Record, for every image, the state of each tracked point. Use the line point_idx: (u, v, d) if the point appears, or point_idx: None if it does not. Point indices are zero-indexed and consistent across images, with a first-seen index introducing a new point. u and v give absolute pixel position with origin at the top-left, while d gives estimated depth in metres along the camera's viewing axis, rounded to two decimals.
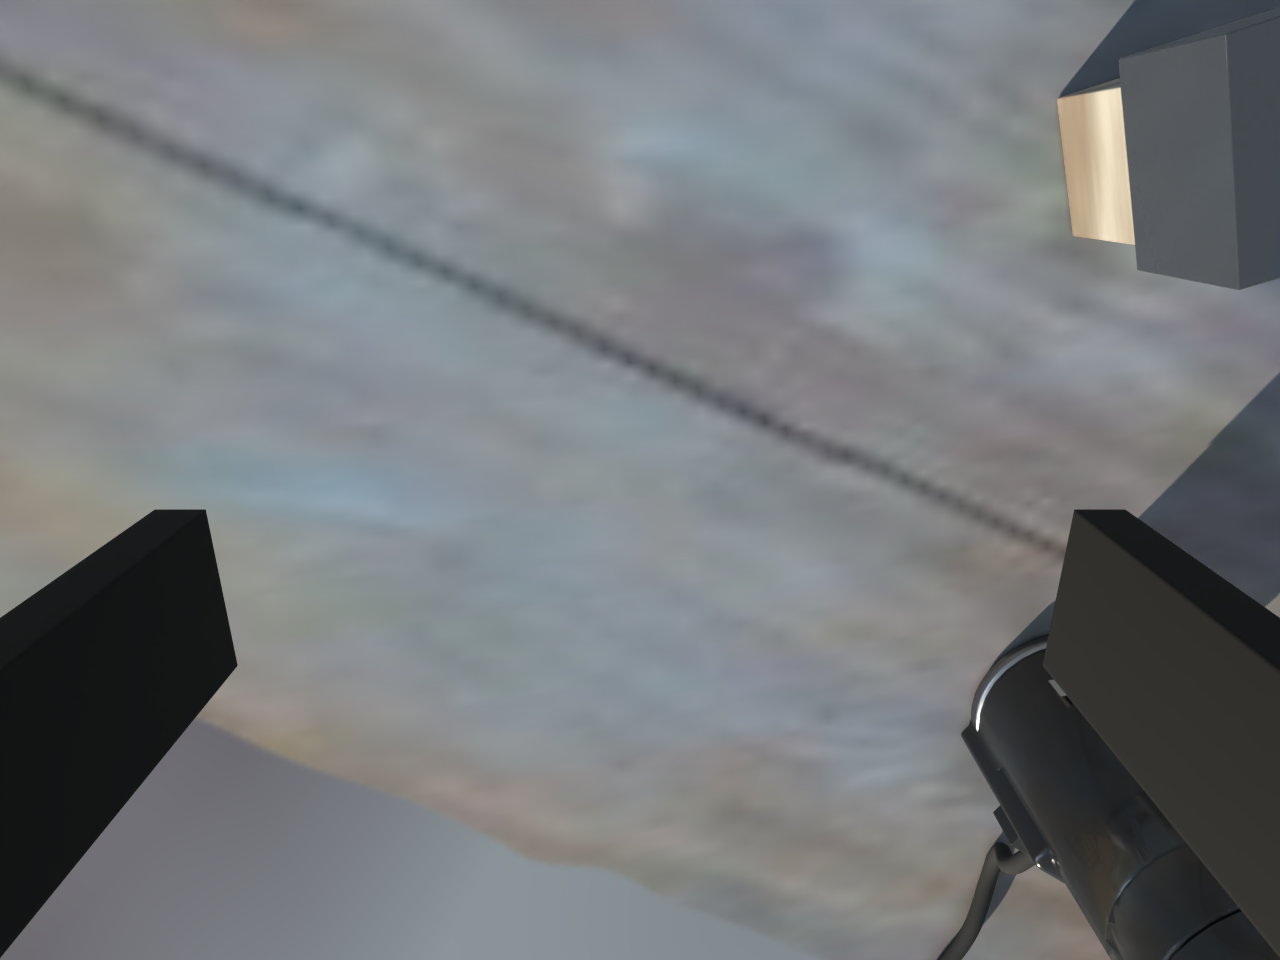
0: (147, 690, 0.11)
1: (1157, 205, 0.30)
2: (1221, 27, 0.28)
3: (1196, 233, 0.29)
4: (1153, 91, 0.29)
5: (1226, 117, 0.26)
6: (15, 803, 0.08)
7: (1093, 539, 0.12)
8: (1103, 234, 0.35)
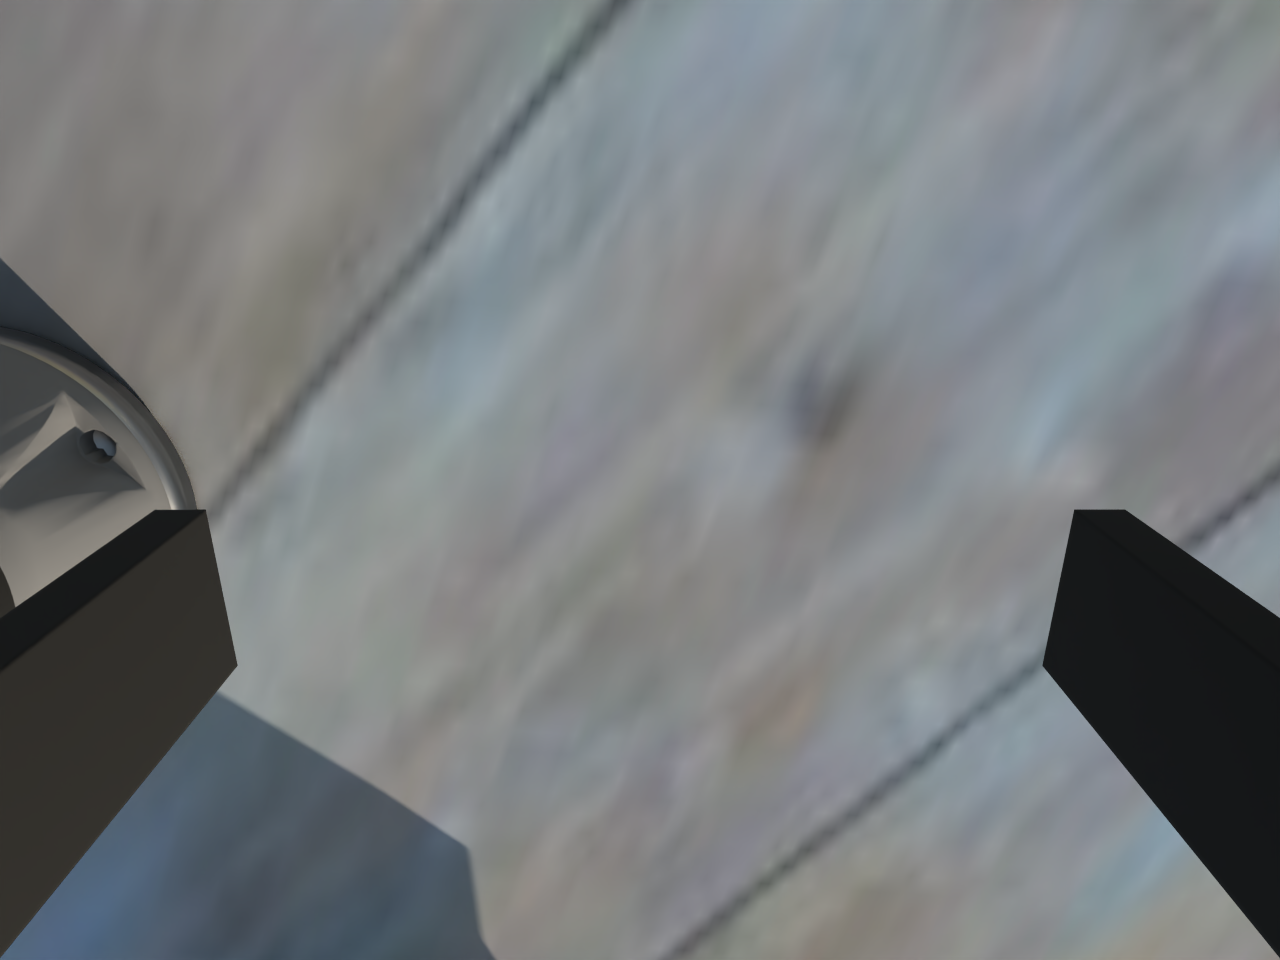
0: (147, 690, 0.11)
1: None
2: None
3: None
4: None
5: None
6: (15, 803, 0.08)
7: (1094, 539, 0.12)
8: None
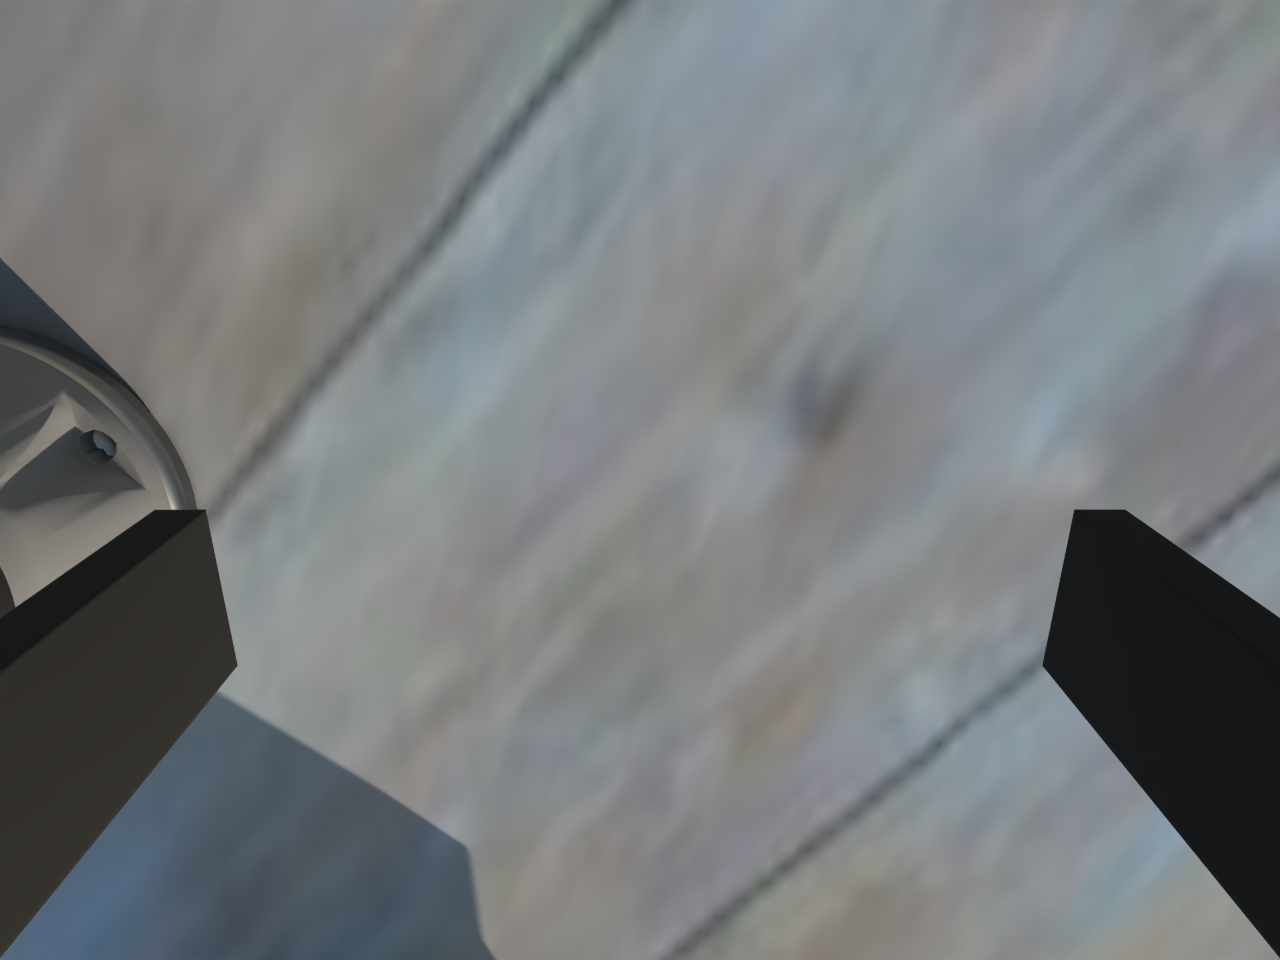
0: (147, 690, 0.11)
1: None
2: None
3: None
4: None
5: None
6: (15, 803, 0.08)
7: (1094, 539, 0.12)
8: None
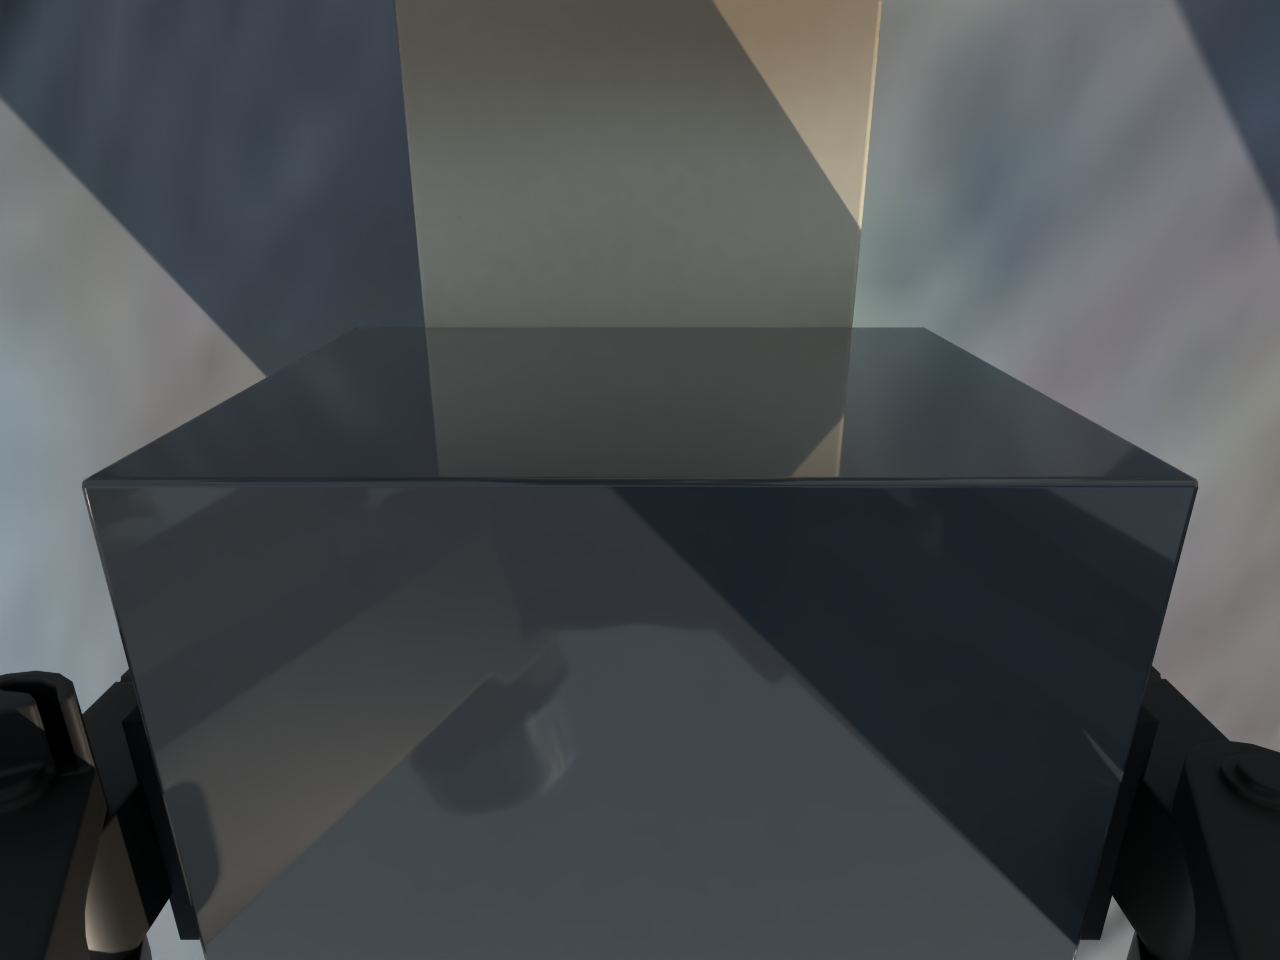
0: None
1: None
2: None
3: None
4: None
5: None
6: None
7: None
8: None
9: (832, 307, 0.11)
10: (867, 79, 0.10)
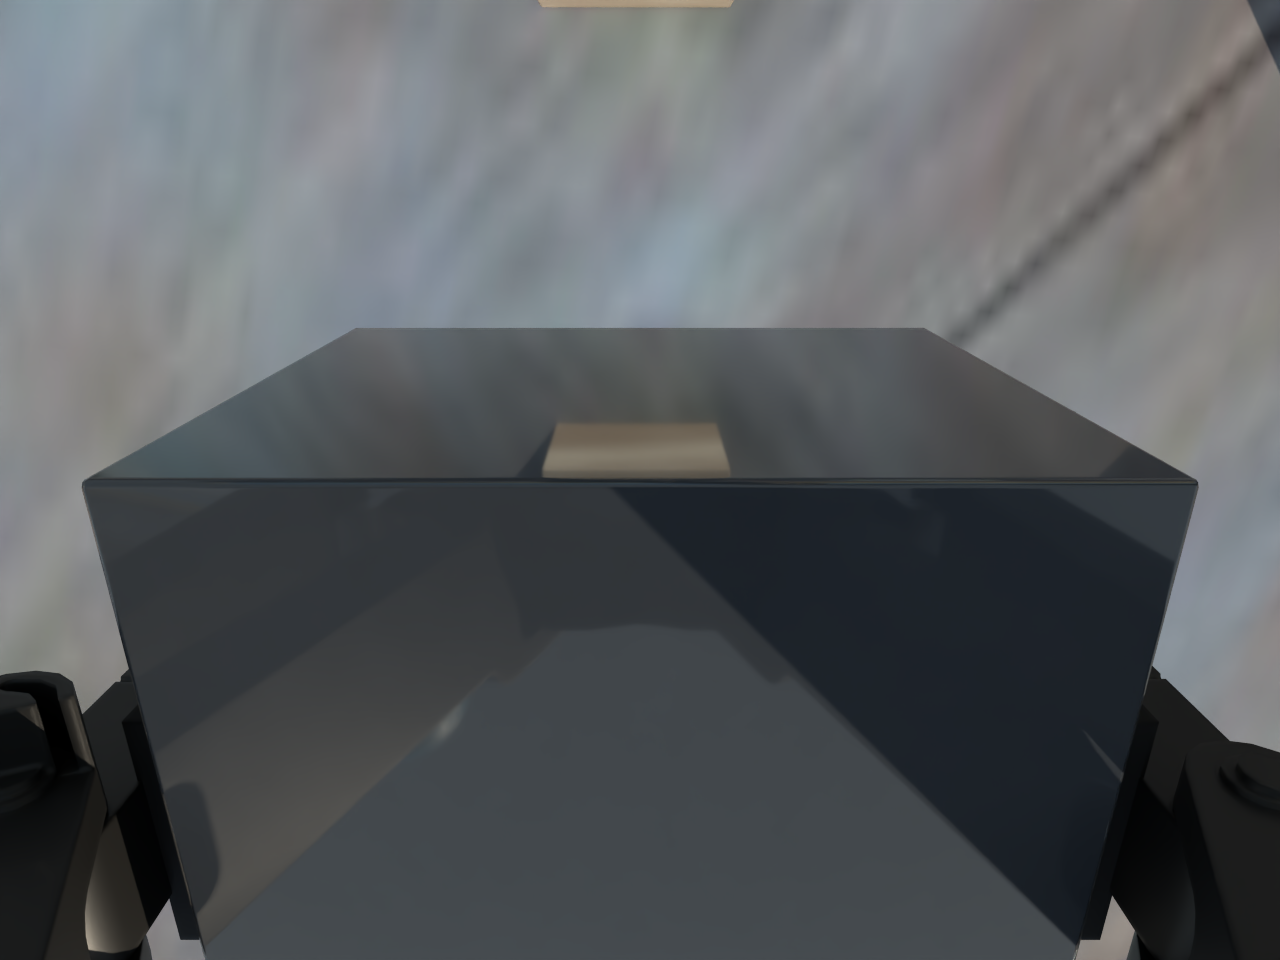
0: None
1: None
2: None
3: None
4: None
5: None
6: None
7: None
8: None
9: None
10: None
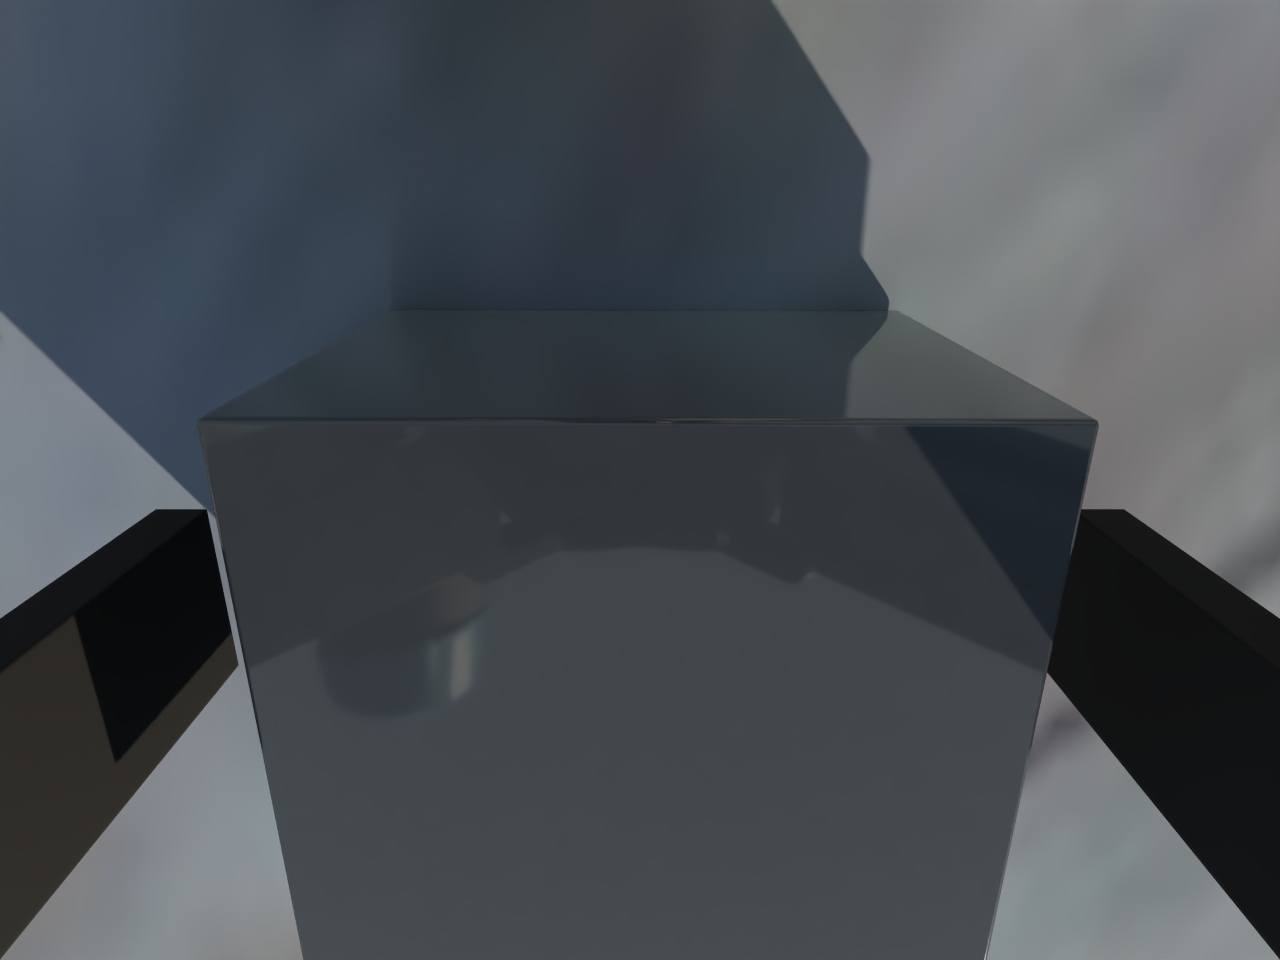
0: (148, 689, 0.11)
1: None
2: None
3: None
4: None
5: None
6: (17, 802, 0.08)
7: (1093, 538, 0.12)
8: None
9: None
10: None
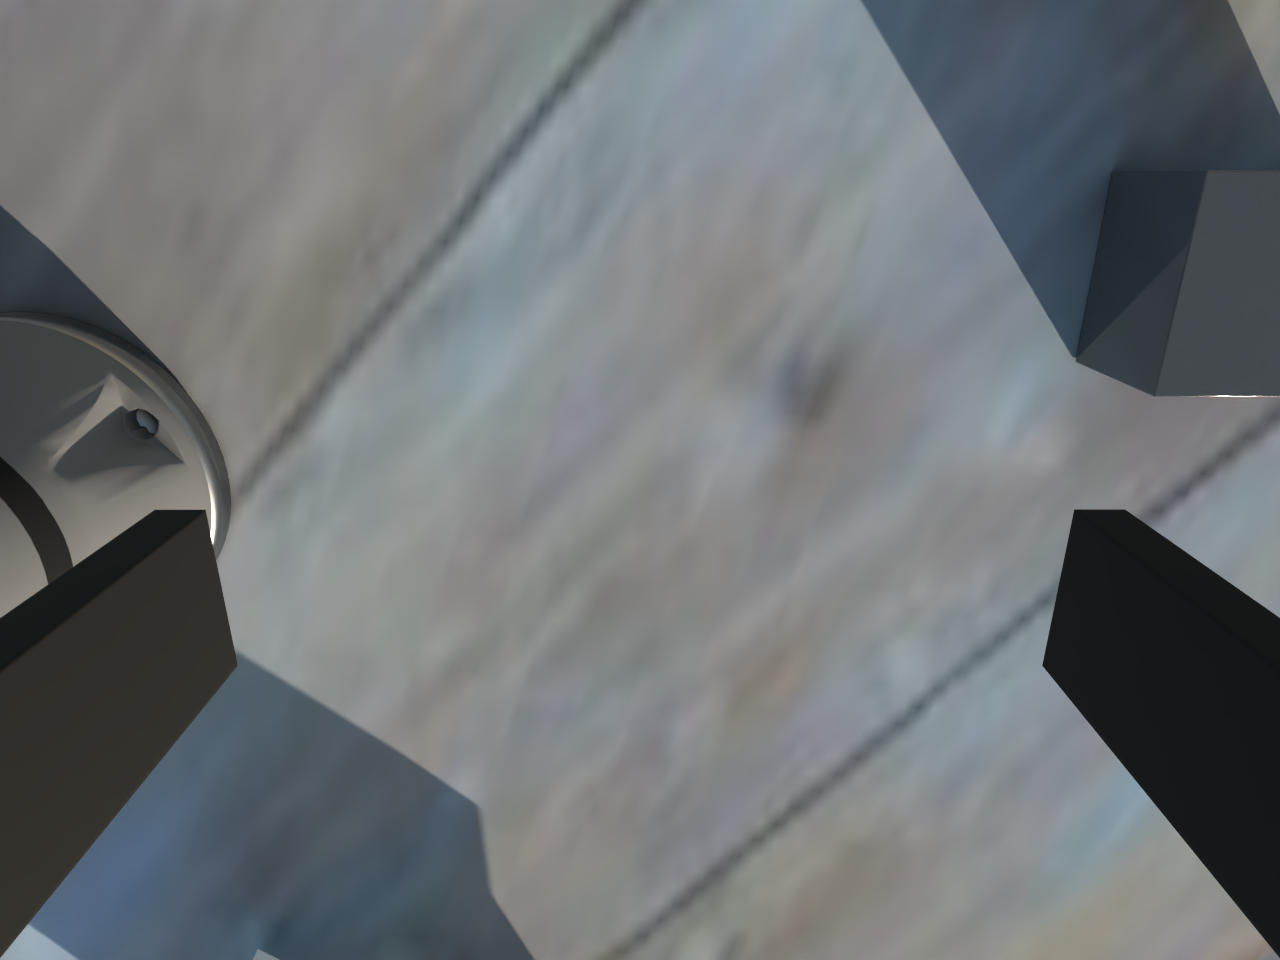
0: (147, 690, 0.11)
1: None
2: (1106, 306, 0.34)
3: None
4: None
5: (1215, 396, 0.31)
6: (15, 803, 0.08)
7: (1094, 538, 0.12)
8: None
9: None
10: None
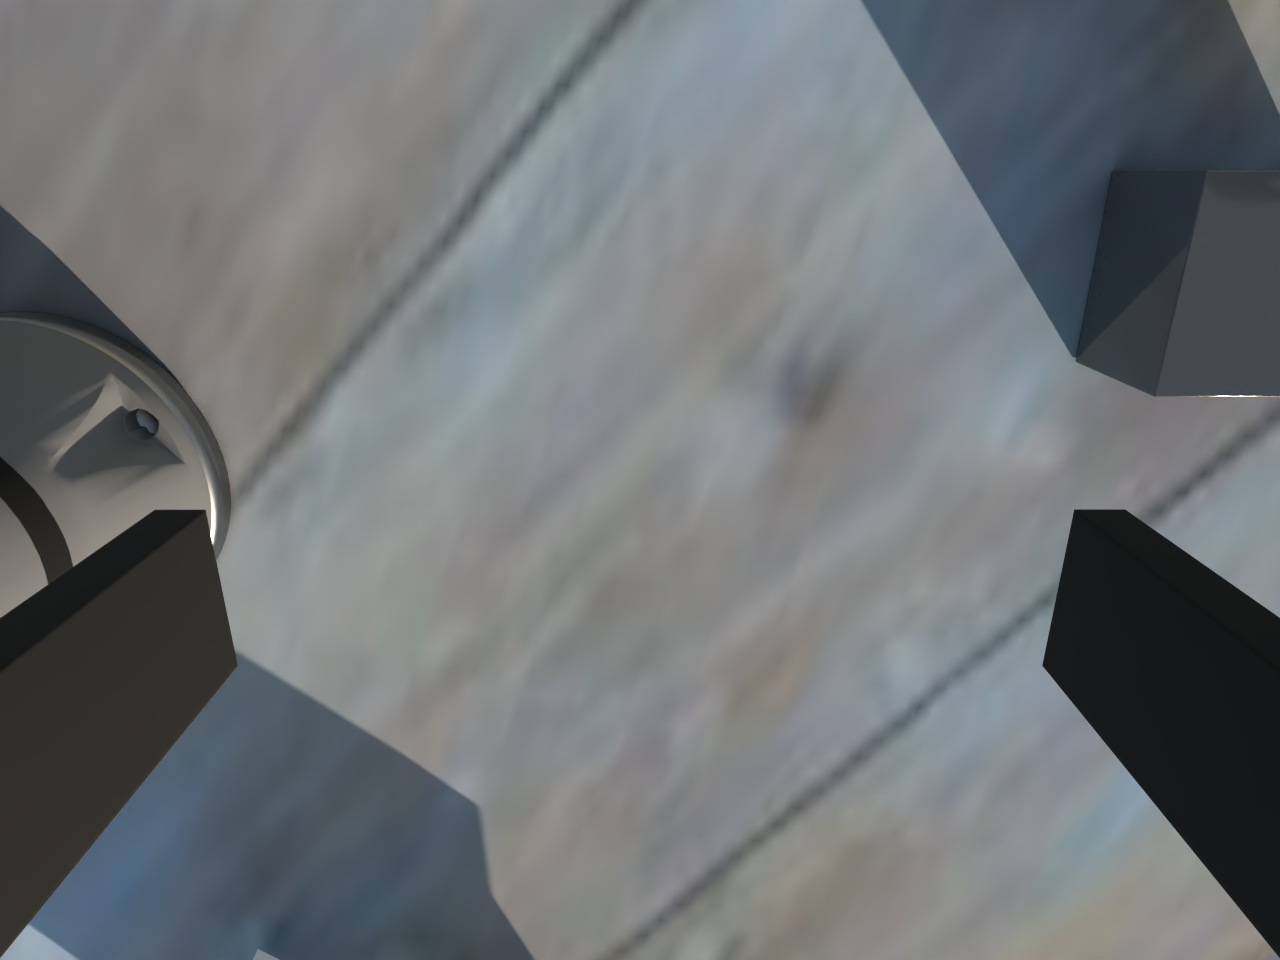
0: (147, 690, 0.11)
1: None
2: (1106, 306, 0.34)
3: None
4: None
5: (1215, 396, 0.31)
6: (15, 803, 0.08)
7: (1094, 538, 0.12)
8: None
9: None
10: None
